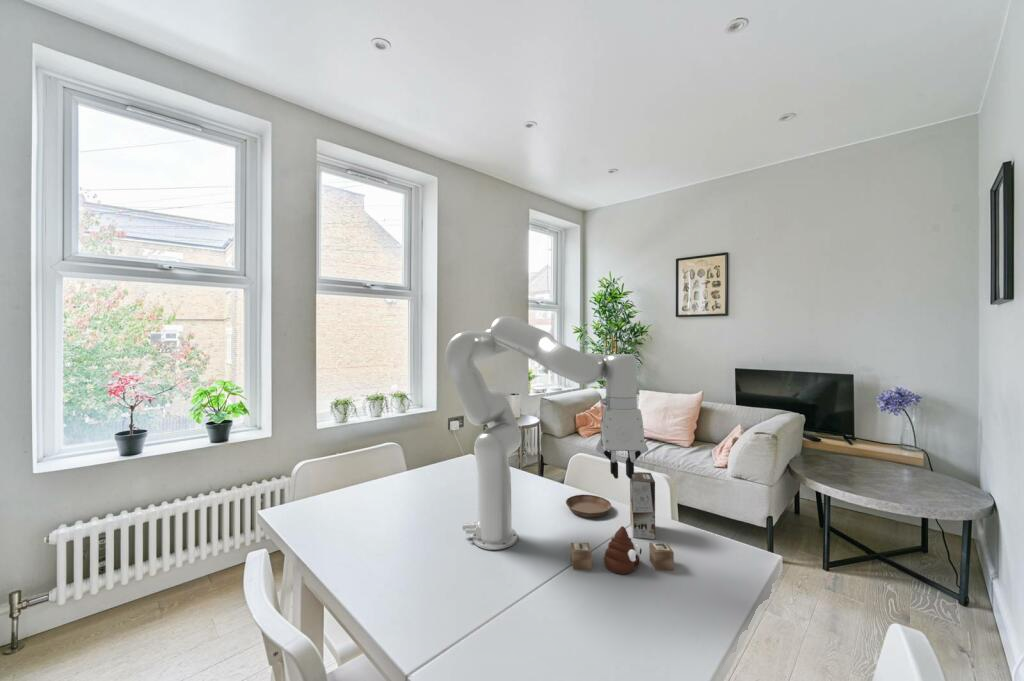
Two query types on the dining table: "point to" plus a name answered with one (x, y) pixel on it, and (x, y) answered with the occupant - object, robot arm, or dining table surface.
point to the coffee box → (642, 505)
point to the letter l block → (661, 556)
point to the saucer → (588, 505)
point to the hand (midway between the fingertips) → (622, 476)
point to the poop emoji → (622, 553)
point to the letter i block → (581, 556)
